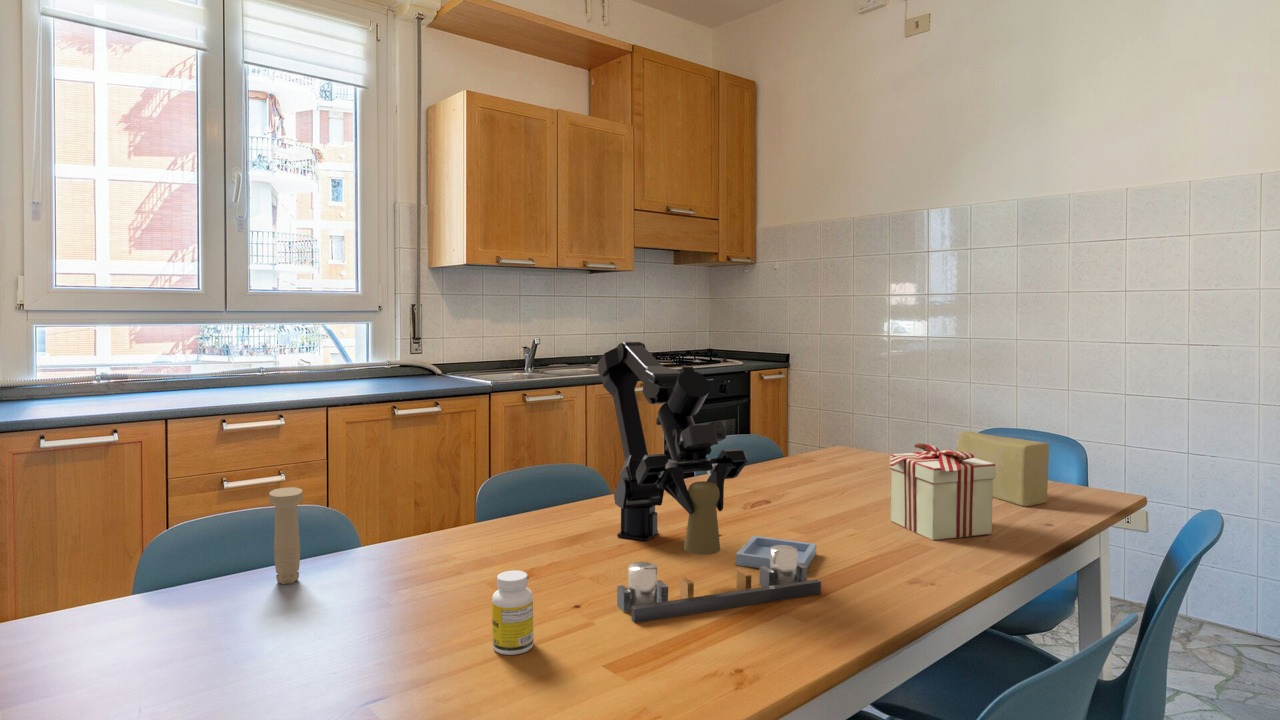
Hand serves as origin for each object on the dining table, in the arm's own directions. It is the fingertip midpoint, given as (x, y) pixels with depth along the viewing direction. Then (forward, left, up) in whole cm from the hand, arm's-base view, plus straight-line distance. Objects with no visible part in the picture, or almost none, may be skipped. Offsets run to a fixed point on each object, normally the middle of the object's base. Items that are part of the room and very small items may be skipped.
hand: (706, 511), depth 121 cm
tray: (+7, +19, -13) cm, 24 cm away
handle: (-64, -26, -13) cm, 70 cm away
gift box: (+33, +52, -13) cm, 63 cm away
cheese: (+46, +90, -13) cm, 102 cm away
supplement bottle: (-17, -31, -13) cm, 38 cm away
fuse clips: (+4, -4, -13) cm, 14 cm away
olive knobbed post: (-1, +1, -7) cm, 7 cm away
